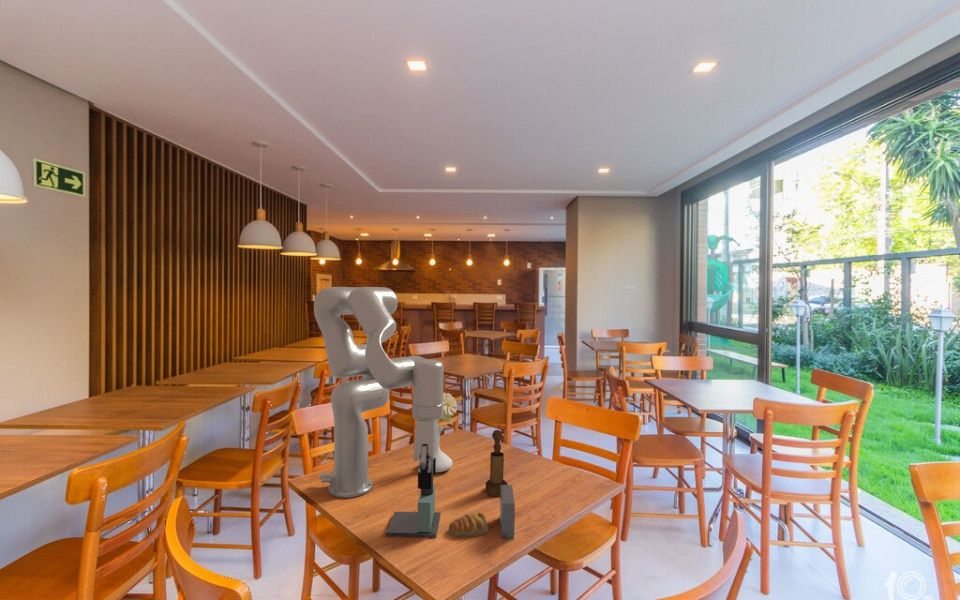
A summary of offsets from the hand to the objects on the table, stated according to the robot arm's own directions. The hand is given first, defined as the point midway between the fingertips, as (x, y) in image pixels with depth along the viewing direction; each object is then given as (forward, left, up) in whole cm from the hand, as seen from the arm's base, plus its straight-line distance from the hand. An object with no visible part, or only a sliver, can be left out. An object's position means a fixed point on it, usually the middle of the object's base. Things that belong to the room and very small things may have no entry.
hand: (427, 480), depth 109 cm
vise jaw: (0, 0, -10) cm, 10 cm away
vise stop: (+20, 0, -12) cm, 23 cm away
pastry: (+11, -1, -12) cm, 16 cm away
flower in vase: (-1, +36, -12) cm, 38 cm away
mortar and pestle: (+18, +20, -12) cm, 29 cm away
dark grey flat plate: (-3, 0, -12) cm, 12 cm away
